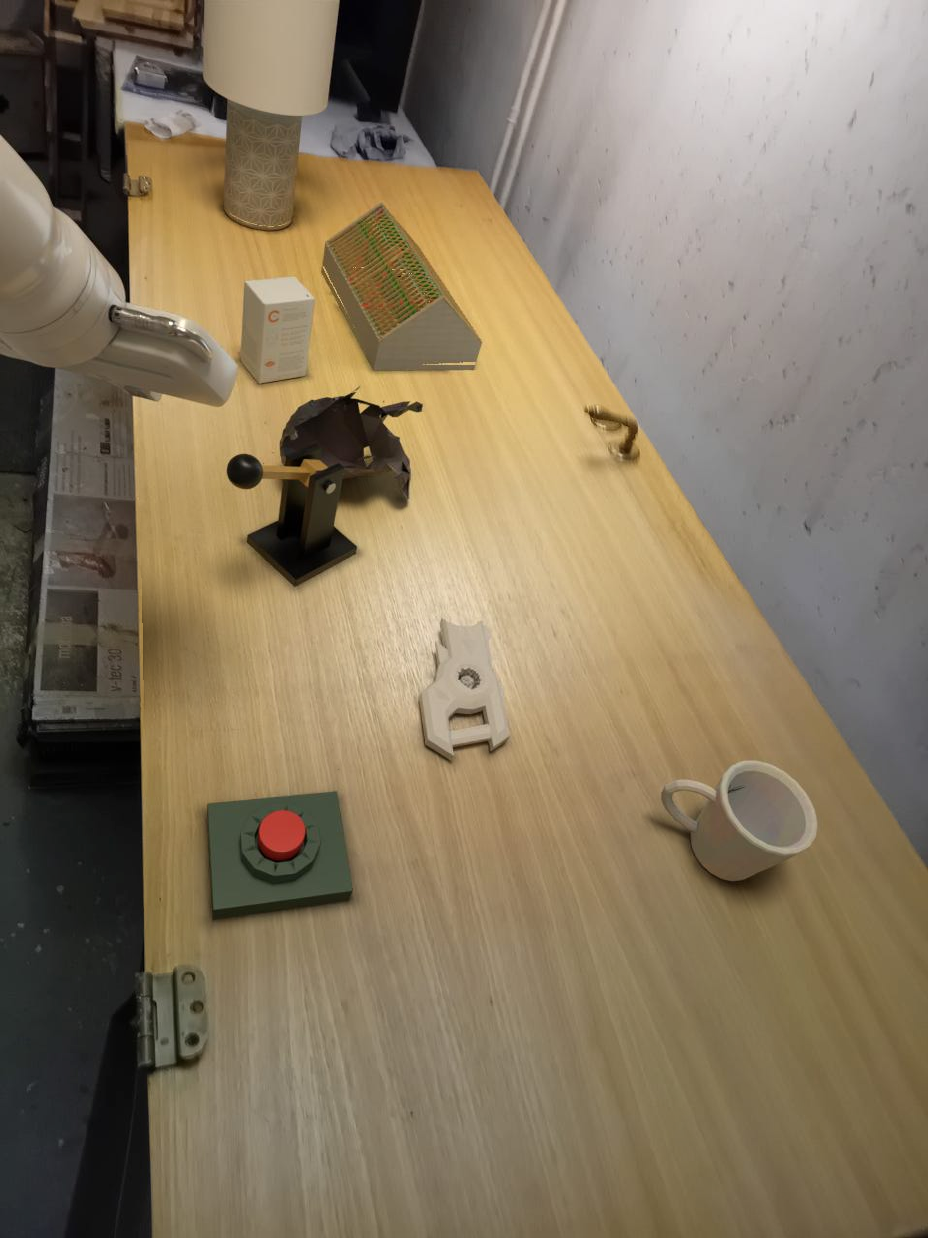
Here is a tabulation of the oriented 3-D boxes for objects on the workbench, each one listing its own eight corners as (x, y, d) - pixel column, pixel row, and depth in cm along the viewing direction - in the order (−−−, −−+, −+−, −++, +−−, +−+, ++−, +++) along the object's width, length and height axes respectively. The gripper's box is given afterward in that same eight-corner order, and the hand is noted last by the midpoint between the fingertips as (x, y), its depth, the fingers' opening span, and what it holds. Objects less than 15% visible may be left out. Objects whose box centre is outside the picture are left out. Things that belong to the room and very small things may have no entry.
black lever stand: (295, 586, 97) (308, 500, 87) (246, 541, 100) (253, 452, 90) (356, 553, 104) (374, 469, 94) (308, 511, 106) (322, 425, 96)
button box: (212, 920, 71) (213, 902, 68) (206, 814, 76) (207, 793, 74) (349, 900, 75) (356, 882, 72) (334, 801, 81) (339, 781, 78)
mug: (766, 910, 85) (821, 870, 78) (633, 858, 85) (675, 813, 78) (766, 824, 92) (816, 780, 85) (644, 777, 92) (683, 729, 85)
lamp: (316, 250, 152) (350, -21, 121) (200, 231, 145) (204, -59, 115) (309, 199, 164) (338, -57, 134) (201, 180, 158) (206, -94, 128)
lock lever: (236, 496, 82) (250, 466, 81) (214, 475, 83) (227, 445, 82) (325, 495, 94) (338, 469, 93) (304, 477, 96) (317, 451, 94)
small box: (286, 353, 128) (295, 274, 118) (306, 376, 125) (316, 298, 116) (238, 360, 124) (243, 279, 114) (257, 385, 121) (264, 303, 111)
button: (259, 863, 71) (261, 855, 70) (255, 821, 73) (257, 812, 72) (305, 858, 72) (308, 849, 71) (300, 816, 75) (302, 807, 74)
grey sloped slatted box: (477, 369, 139) (499, 298, 129) (373, 370, 131) (388, 294, 121) (417, 275, 155) (432, 206, 146) (321, 271, 147) (330, 197, 137)
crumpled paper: (393, 440, 119) (254, 447, 112) (412, 359, 108) (257, 360, 100) (419, 513, 112) (272, 524, 105) (441, 434, 101) (278, 441, 94)
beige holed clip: (413, 610, 95) (494, 614, 98) (406, 627, 97) (485, 630, 100) (433, 750, 84) (523, 750, 87) (425, 766, 87) (512, 765, 90)
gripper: (208, 285, 54) (273, 383, 68) (-61, 226, 57) (53, 331, 70) (176, 371, 53) (249, 453, 67) (-96, 306, 56) (27, 397, 69)
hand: (146, 390), depth 69 cm, fingers closed
